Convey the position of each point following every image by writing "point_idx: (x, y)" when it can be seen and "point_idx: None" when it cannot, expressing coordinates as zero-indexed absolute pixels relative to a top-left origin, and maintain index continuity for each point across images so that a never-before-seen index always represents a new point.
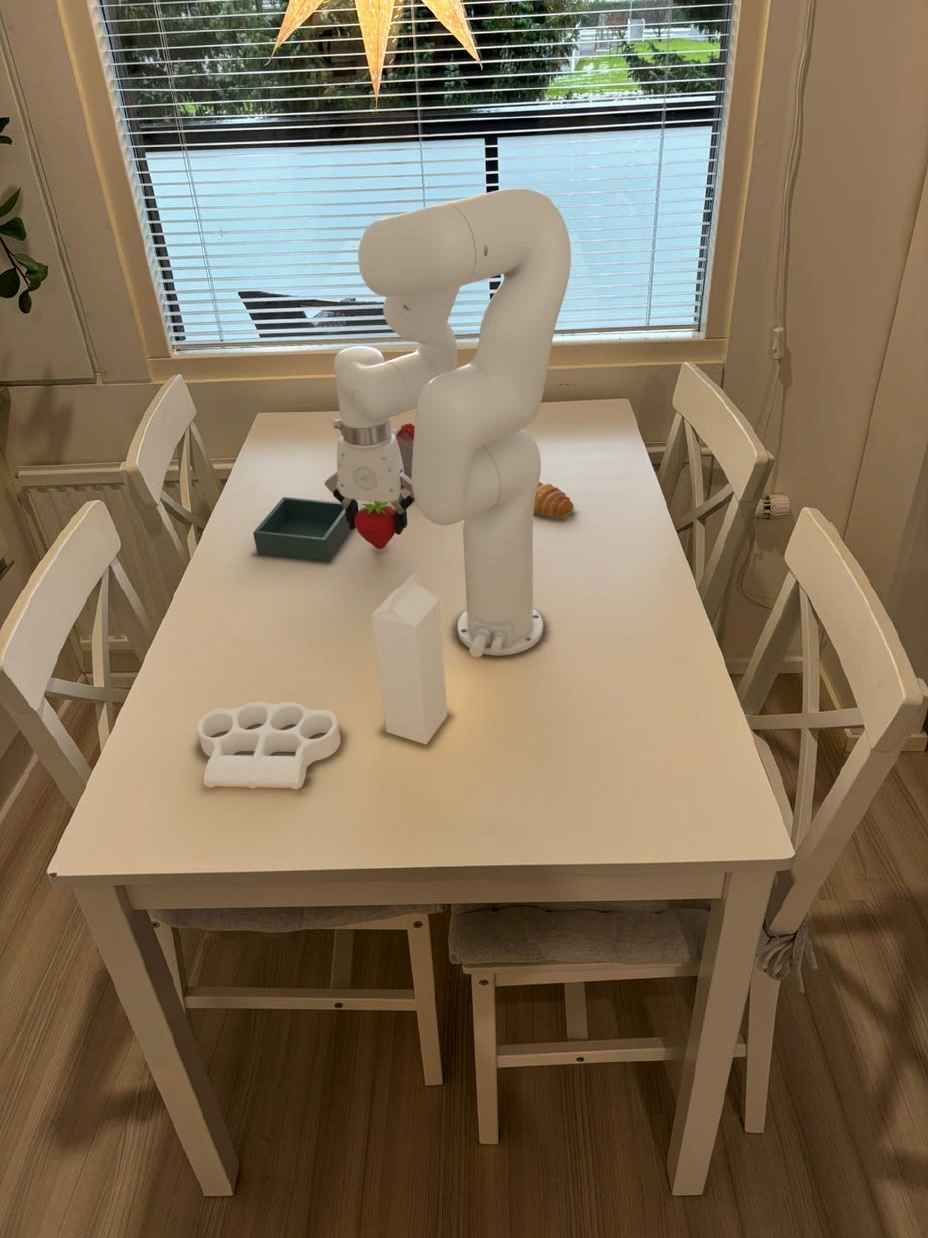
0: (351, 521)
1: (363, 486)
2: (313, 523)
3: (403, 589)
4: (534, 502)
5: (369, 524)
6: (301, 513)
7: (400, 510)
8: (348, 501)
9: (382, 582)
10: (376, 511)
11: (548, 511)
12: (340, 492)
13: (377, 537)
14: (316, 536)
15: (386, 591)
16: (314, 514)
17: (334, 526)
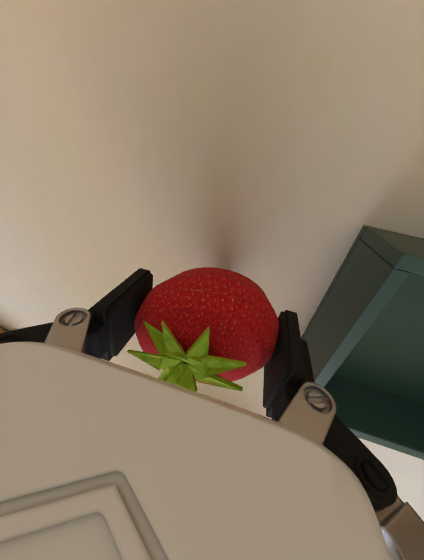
0: (288, 329)
1: (118, 541)
2: (385, 385)
3: None
4: None
5: (213, 291)
6: (422, 418)
7: (74, 318)
8: (298, 412)
9: (194, 111)
10: (183, 342)
11: None
12: (369, 507)
13: (205, 267)
14: (386, 340)
15: (172, 48)
16: (387, 407)
17: (350, 333)
